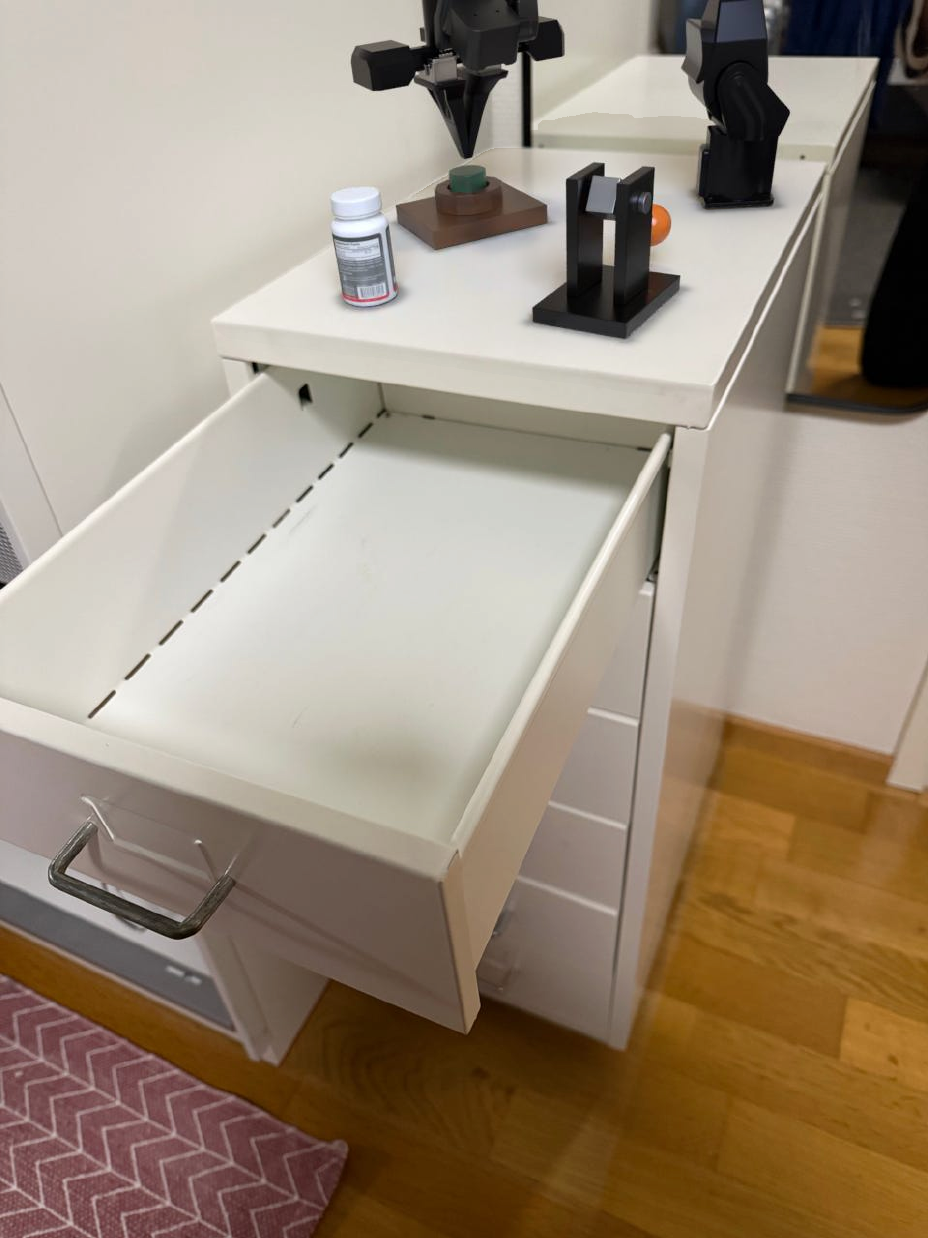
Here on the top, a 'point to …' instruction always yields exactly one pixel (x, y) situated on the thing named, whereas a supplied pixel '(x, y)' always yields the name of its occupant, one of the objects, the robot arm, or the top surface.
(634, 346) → the top surface
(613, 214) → the switch lever
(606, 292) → the switch bracket
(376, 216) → the pill bottle
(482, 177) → the button
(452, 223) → the button block
